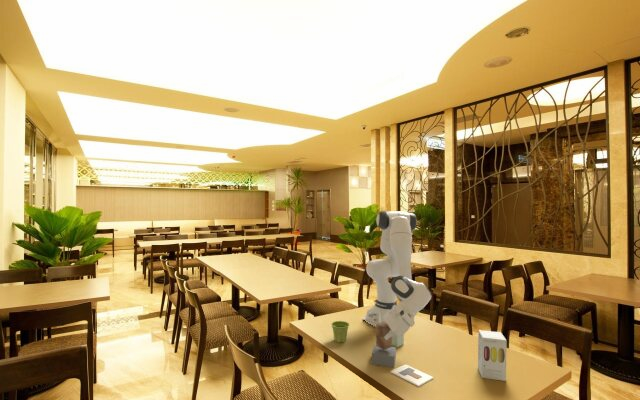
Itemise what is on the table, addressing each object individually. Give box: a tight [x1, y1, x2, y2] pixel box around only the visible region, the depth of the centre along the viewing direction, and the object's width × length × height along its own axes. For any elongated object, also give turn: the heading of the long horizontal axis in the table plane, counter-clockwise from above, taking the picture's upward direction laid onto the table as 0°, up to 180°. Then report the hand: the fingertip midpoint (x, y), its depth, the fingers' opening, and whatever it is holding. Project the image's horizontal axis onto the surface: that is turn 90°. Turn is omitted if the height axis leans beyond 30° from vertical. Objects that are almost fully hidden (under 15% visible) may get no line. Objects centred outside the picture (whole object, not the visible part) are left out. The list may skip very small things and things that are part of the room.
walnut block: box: [375, 322, 393, 350], centre depth 153 cm, size 5×5×10 cm
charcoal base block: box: [371, 344, 397, 368], centre depth 153 cm, size 10×10×5 cm
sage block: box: [392, 334, 405, 348], centre depth 171 cm, size 5×5×10 cm
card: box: [390, 364, 434, 387], centre depth 140 cm, size 14×10×1 cm
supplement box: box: [477, 329, 508, 382], centre depth 142 cm, size 10×9×17 cm
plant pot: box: [330, 320, 350, 343], centre depth 175 cm, size 9×9×9 cm
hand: (382, 334), depth 153 cm, fingers closed on walnut block, 7 cm apart
